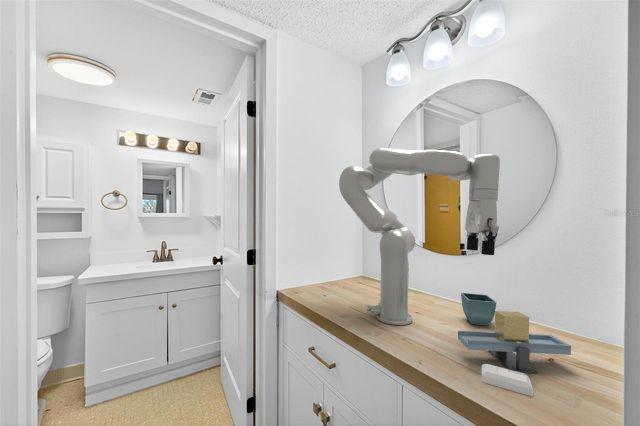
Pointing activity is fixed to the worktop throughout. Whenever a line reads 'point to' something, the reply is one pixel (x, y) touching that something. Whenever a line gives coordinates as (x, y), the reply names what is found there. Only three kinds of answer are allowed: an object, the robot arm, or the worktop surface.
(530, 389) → the soap bar
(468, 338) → the beam
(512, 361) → the stand
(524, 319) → the block
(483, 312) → the flower pot
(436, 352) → the worktop surface
